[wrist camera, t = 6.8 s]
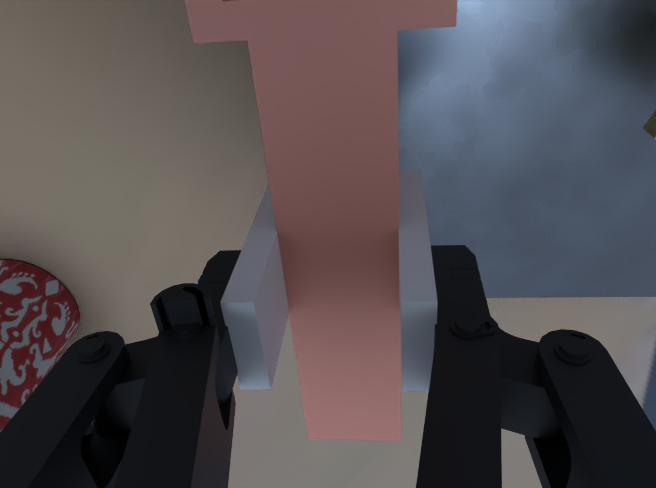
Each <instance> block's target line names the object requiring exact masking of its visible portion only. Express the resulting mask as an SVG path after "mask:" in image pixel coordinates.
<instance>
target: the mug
mask: <svg viewBox="0 0 656 488" xmlns="http://www.w3.org/2000/svg"><path fill="white" fill-rule="evenodd" d="M78 324H79V312H78V309H77V306H76V304H75V301H74V299H73V298H72V296H71V295H70V293H69V292H68V290H67V289H66V288H65V287H64V286H63V285H62V284H61V283H60V282H59V281H58V280H57V279H56V278H54V277H53V276H51V275H50V274H49V273H47V272H46V271H44V270H42V269H40V268H38V267H35V266H33V265H30V264H27V263H24V262H20V261H15V260H0V432H1V431H2V430H3V428H4V427H5V426H6V425H7V423H8V422H9V421H10V420H11V418H12V417H13V416H14V415H15V414H16V412H17V411H18V410H19V409H20V407H21V406H22V405H23V404H24V402H25V401H26V400H27V399H28V397H29V396H30V395H31V394H32V392H33V391H34V390H35V389H36V388H37V386H38V385H39V384H40V383H41V381H42V380H43V379H44V378H45V376H46V375H47V374H48V373H49V371H50V370H51V369H52V368H53V367H54V365H55V364H56V363H57V362H58V360H59V359H60V358H61V356H62V355H63V353H64V351H65V350H66V348H67V346H68V345H69V343H70V341H71V340H72V338H73V336H74V334H75V332H76V330H77V328H78Z"/></svg>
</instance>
